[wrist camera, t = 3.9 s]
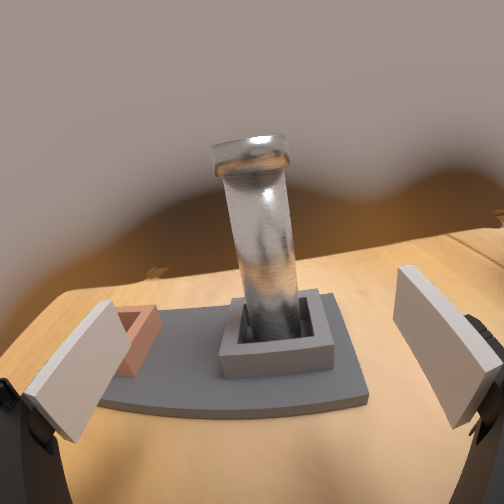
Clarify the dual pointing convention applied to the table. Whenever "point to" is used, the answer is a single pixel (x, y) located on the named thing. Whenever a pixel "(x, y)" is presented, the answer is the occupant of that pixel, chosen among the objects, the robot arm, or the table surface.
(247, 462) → the table surface
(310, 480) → the table surface
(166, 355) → the dock board
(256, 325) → the pin
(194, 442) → the table surface
